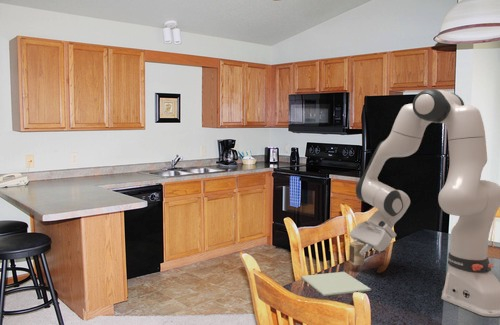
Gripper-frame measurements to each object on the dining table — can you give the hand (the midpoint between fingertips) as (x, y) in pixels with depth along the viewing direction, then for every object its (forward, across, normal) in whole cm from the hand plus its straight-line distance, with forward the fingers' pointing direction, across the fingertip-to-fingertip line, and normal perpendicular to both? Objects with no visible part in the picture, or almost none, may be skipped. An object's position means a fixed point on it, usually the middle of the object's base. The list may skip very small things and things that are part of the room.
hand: (356, 251), depth 170 cm
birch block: (+3, 0, +3) cm, 5 cm away
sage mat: (+16, +10, -5) cm, 20 cm away
